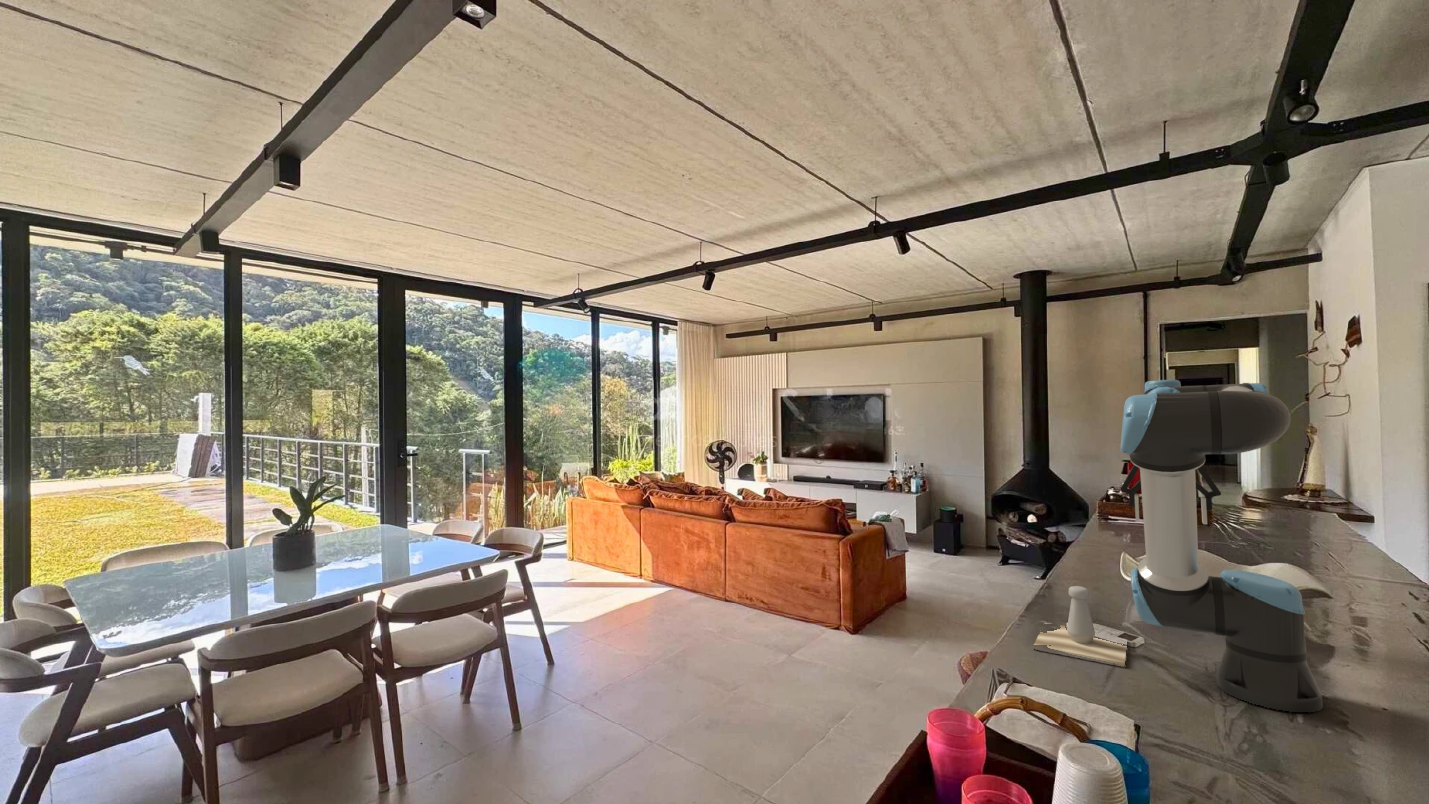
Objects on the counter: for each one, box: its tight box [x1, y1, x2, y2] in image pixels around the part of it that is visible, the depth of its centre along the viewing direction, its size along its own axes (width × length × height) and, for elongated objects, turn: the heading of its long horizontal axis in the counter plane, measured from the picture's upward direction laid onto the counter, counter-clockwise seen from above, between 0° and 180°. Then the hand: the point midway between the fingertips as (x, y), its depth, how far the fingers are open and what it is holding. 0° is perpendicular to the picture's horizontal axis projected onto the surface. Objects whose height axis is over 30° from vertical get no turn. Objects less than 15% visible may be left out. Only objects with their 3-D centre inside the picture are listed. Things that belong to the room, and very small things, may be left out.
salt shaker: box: [1066, 585, 1096, 644], centre depth 139 cm, size 6×6×13 cm
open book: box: [1033, 622, 1128, 666], centre depth 139 cm, size 18×18×1 cm
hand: (1170, 521), depth 147 cm, fingers open, 13 cm apart
